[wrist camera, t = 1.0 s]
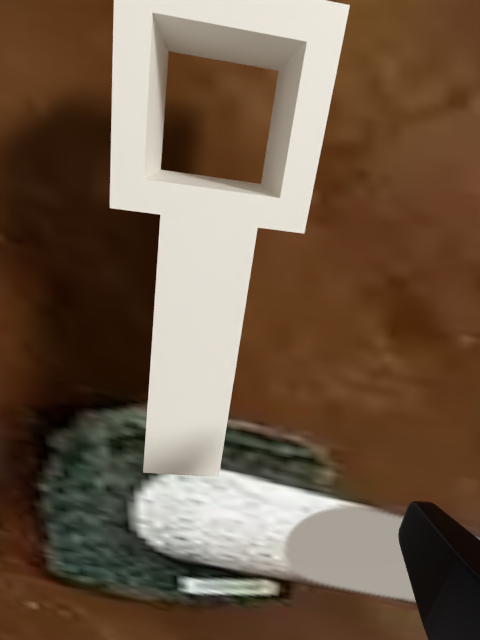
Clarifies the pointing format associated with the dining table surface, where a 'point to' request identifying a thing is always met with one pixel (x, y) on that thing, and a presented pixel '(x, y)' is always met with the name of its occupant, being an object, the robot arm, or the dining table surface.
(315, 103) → the square loop paddle
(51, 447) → the dining table surface
